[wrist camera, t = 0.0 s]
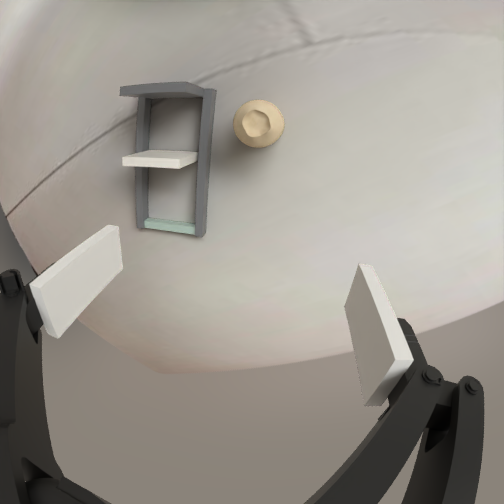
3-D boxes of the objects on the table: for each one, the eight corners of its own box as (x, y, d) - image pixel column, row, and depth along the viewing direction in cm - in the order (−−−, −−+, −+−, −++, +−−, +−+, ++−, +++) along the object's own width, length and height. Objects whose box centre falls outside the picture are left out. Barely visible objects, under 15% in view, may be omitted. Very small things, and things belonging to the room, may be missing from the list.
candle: (292, 117, 35) (293, 114, 26) (271, 150, 37) (266, 158, 28) (257, 98, 34) (246, 89, 25) (237, 131, 36) (221, 133, 27)
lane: (145, 91, 35) (112, 87, 27) (216, 90, 34) (196, 81, 26) (142, 223, 45) (114, 245, 36) (205, 232, 44) (187, 257, 36)
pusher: (150, 149, 39) (122, 157, 31) (199, 152, 38) (179, 159, 31) (149, 157, 39) (122, 165, 32) (199, 160, 39) (179, 168, 31)
